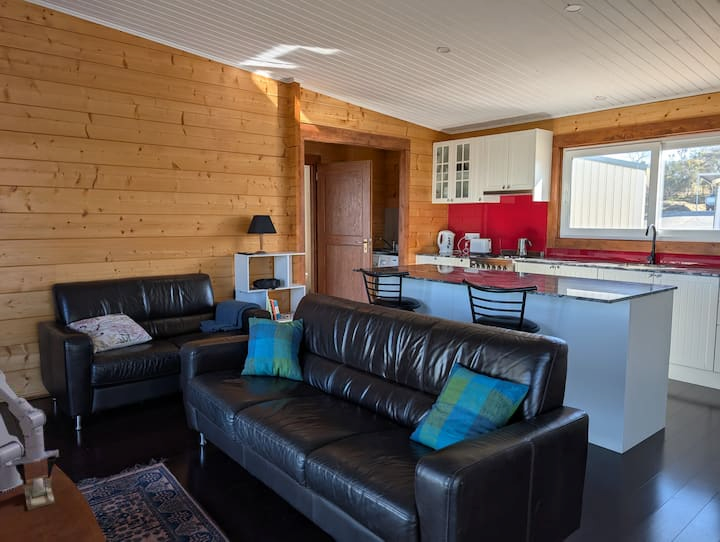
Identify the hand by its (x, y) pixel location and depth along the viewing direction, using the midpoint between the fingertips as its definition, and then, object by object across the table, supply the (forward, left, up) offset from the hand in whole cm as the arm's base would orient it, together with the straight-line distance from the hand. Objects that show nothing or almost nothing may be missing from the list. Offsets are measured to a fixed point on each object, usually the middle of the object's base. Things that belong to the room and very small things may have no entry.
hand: (37, 479), depth 192 cm
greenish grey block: (+4, -2, -3) cm, 6 cm away
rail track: (+5, -2, -5) cm, 7 cm away
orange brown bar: (0, 0, -2) cm, 2 cm away
